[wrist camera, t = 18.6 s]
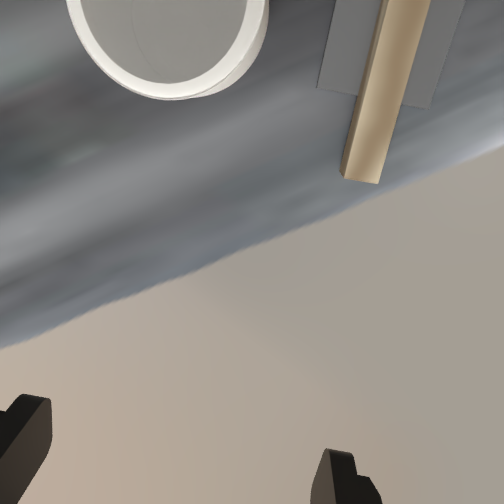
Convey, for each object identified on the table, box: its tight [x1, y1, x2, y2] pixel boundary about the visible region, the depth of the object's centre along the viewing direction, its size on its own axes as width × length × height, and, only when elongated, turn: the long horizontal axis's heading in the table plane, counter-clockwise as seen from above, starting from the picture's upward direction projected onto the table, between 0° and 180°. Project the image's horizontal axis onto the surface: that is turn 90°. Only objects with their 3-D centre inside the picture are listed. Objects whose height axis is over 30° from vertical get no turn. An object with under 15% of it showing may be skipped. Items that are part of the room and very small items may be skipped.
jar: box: [66, 0, 269, 100], centre depth 27 cm, size 11×10×15 cm
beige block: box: [339, 0, 431, 184], centre depth 32 cm, size 3×20×3 cm, turn 171°
